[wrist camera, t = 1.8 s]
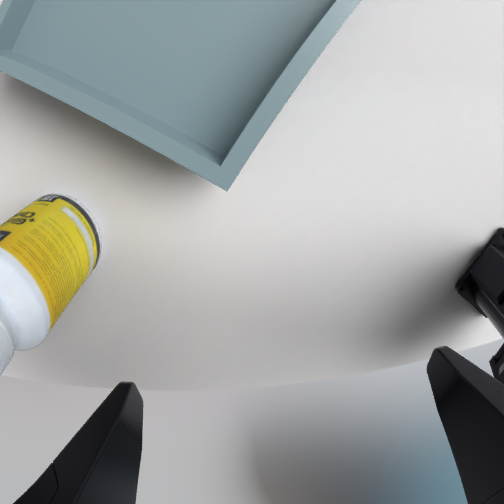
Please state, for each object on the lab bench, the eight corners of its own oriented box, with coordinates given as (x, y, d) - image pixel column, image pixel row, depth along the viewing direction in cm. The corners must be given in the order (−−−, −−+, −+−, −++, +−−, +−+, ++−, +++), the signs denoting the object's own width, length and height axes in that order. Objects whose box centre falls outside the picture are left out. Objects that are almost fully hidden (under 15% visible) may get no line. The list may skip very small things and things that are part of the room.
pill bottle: (87, 180, 18) (-37, 276, 8) (117, 267, 21) (41, 397, 11) (20, 202, 19) (-90, 288, 9) (50, 277, 22) (-30, 383, 12)
